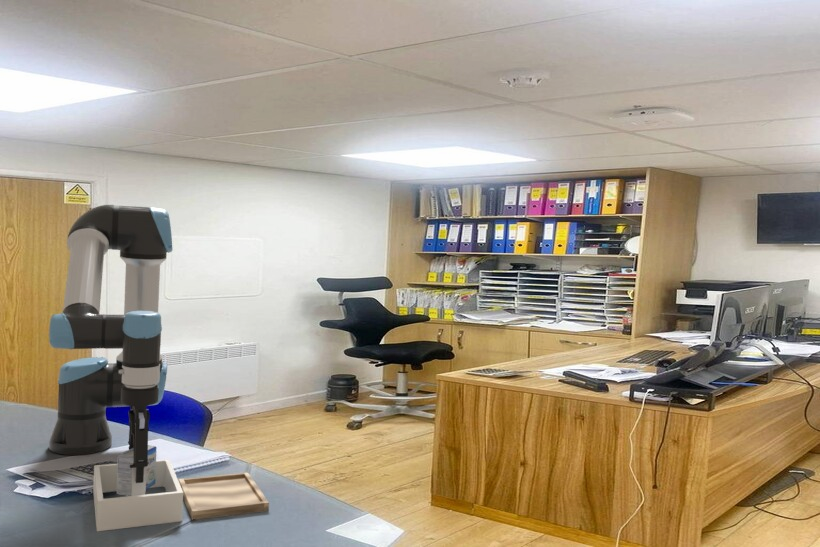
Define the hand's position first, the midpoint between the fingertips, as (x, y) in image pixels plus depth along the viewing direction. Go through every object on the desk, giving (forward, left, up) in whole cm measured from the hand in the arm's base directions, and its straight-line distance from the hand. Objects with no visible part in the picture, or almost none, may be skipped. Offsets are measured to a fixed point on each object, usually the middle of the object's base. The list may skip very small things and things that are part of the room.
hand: (136, 488), depth 151 cm
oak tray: (+1, +18, -4) cm, 18 cm away
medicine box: (0, 0, 0) cm, 0 cm away
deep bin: (0, 0, -4) cm, 4 cm away
